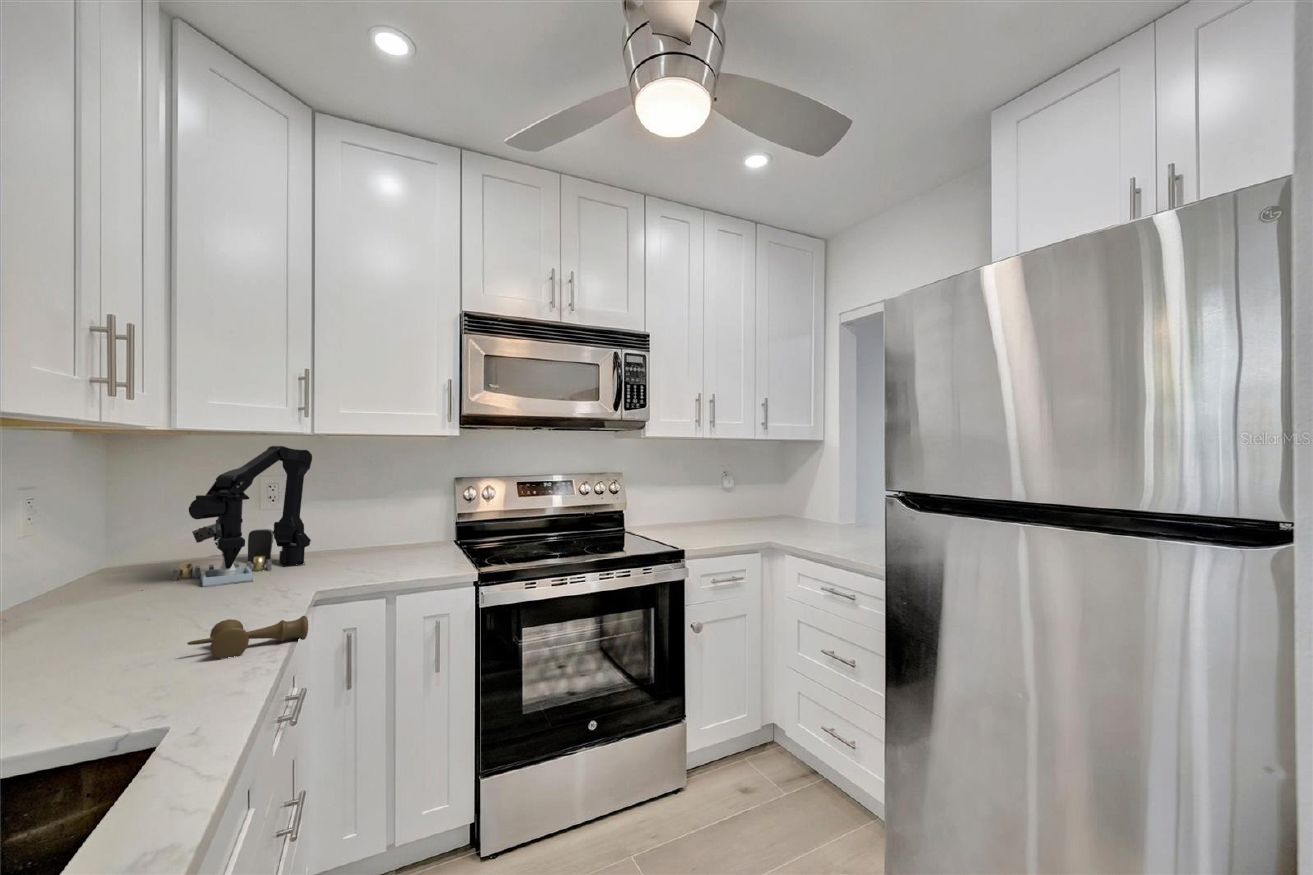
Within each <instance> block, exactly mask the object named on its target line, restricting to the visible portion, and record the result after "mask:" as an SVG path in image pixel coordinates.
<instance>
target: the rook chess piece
mask: <svg viewBox="0 0 1313 875" xmlns="http://www.w3.org/2000/svg"><path fill="white" fill-rule="evenodd" d="M222 553H223V552H222V551H221V554H222ZM218 569H219V572H220V573H219V574H218V575H219V576H226V575H235V574H236V573H237V572H235V571H236V568H235V566H234V563H233V564H232V566H231V568H228V569H226V567H225V561H224V556H222V562H221V566H220V568H218Z"/></svg>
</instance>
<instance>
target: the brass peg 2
mask: <svg viewBox="0 0 1313 875" xmlns="http://www.w3.org/2000/svg"><path fill="white" fill-rule="evenodd" d="M263 570H264V571H265V570H266V562H265V556H256V557H254V563H252V572H253V571H254V572H253V573H257V572H259V571H260V572H264V571H263Z"/></svg>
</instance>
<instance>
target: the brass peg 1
mask: <svg viewBox="0 0 1313 875" xmlns="http://www.w3.org/2000/svg"><path fill="white" fill-rule="evenodd" d="M193 568H194V562H193V561H188V562H180V563H179V578H178V579H179V580H188V579H192V578H193V572H194V571H193V570H194V569H193Z"/></svg>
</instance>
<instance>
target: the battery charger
mask: <svg viewBox="0 0 1313 875" xmlns="http://www.w3.org/2000/svg"><path fill="white" fill-rule="evenodd" d="M273 531H274V530H272V529H269V528H266V529H265V528H259V529H258V528H257V529H253V530H250V531H249V533H248V536H247V559H246V560H247V561H251V562H252V564H253V563H254V557H256V556H265V563H266V560H267V559H270V560H271V561H272V551H273V550H272V549H273V544H274V534H272V533H273ZM247 561H246V562H247Z"/></svg>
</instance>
